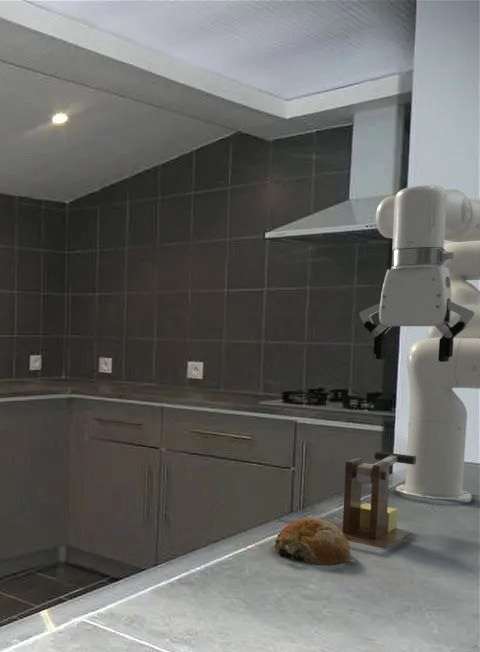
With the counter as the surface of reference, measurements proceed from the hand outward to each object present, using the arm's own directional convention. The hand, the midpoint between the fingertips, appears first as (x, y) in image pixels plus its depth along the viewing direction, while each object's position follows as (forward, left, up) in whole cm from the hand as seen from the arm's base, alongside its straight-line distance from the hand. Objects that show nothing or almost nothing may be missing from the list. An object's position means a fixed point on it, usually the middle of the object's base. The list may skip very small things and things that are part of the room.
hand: (411, 360), depth 124 cm
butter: (+13, 0, -27) cm, 30 cm away
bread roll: (+34, -1, -28) cm, 44 cm away
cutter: (+18, 0, -28) cm, 34 cm away
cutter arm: (+12, 0, -18) cm, 22 cm away
